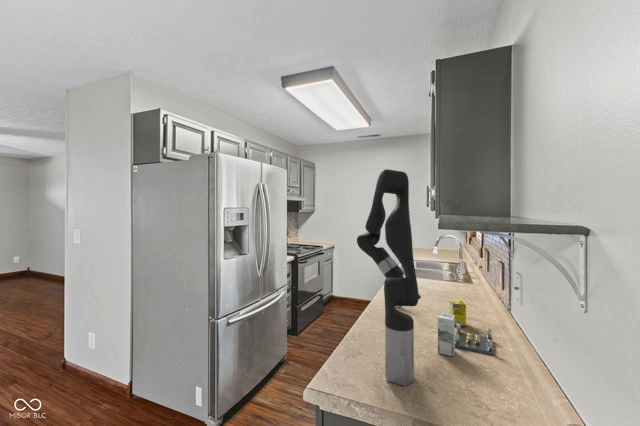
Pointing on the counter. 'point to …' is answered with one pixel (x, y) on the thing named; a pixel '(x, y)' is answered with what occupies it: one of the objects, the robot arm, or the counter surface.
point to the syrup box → (446, 334)
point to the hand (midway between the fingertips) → (415, 301)
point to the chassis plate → (474, 341)
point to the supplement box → (458, 312)
